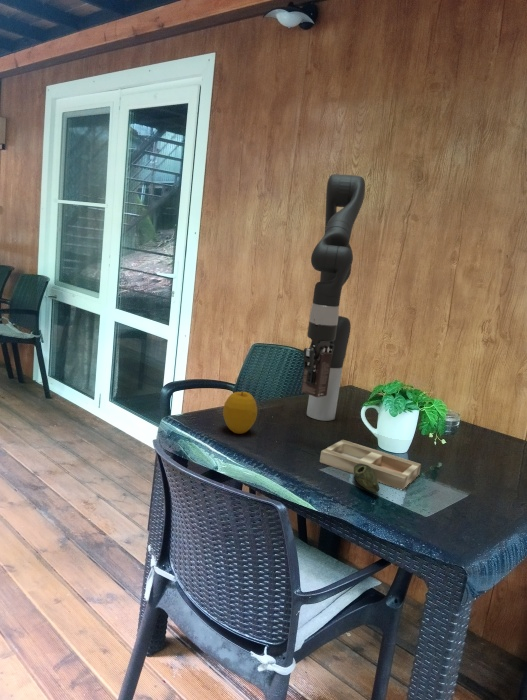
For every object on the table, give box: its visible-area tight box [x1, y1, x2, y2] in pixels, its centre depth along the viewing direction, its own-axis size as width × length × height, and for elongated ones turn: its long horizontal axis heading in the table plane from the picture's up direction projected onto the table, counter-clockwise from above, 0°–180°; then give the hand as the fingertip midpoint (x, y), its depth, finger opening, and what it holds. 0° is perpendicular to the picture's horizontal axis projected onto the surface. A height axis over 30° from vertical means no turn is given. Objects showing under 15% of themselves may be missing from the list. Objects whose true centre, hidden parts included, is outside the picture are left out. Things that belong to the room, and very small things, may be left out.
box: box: [300, 352, 332, 398], centre depth 154 cm, size 6×4×12 cm
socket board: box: [319, 439, 422, 490], centre depth 145 cm, size 13×22×3 cm, turn 58°
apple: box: [222, 391, 258, 435], centre depth 160 cm, size 10×10×12 cm
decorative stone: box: [353, 463, 380, 493], centre depth 134 cm, size 11×8×5 cm
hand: (314, 382), depth 155 cm, fingers closed on box, 5 cm apart
